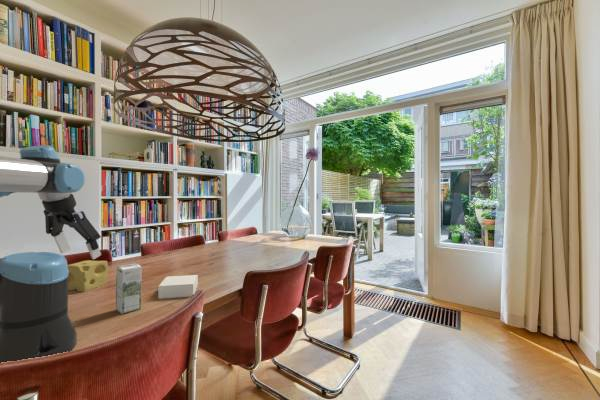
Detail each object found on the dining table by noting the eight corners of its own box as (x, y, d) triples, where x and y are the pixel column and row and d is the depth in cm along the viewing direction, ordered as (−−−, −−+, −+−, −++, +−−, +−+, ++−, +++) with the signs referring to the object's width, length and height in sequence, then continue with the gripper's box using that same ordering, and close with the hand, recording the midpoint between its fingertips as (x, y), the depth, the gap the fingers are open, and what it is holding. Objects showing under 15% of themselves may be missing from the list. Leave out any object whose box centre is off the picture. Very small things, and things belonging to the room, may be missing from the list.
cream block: (193, 297, 101) (193, 283, 101) (158, 299, 99) (158, 286, 99) (197, 286, 113) (197, 274, 113) (166, 288, 110) (166, 276, 110)
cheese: (84, 292, 104) (84, 266, 104) (62, 290, 106) (62, 265, 106) (108, 284, 114) (108, 260, 114) (87, 282, 116) (87, 259, 116)
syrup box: (134, 304, 93) (135, 262, 93) (141, 309, 89) (141, 265, 89) (115, 309, 89) (115, 265, 89) (122, 314, 85) (122, 269, 85)
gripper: (100, 195, 83) (120, 252, 92) (41, 188, 89) (64, 243, 98) (76, 205, 76) (99, 266, 85) (13, 197, 82) (42, 255, 91)
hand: (81, 254), depth 91 cm, fingers open, 13 cm apart
